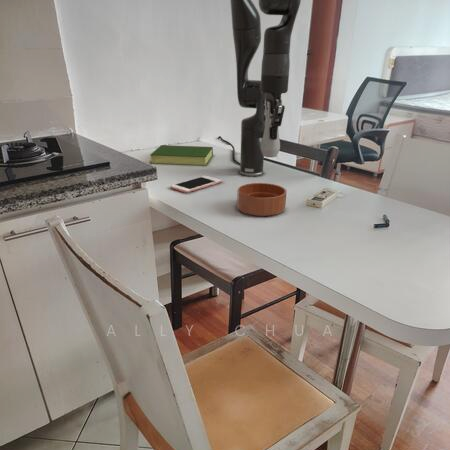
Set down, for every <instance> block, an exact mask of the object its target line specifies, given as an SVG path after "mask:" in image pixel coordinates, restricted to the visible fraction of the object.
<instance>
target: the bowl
mask: <svg viewBox="0 0 450 450" xmlns="http://www.w3.org/2000/svg"><path fill="white" fill-rule="evenodd" d="M286 201H287V189H286V188H285V187H283V186H281V185H278V184H274V183H267V182H253V183H247V184H243V185H241V186H239V187H237V193H236V207H237V209H238V210H239V211H240V212H242V213H245V214H248V215H252V216H259V217H266V216H275V215H279V214H281V213H283V212H284V211H285V210H286V204H287V203H286Z"/></svg>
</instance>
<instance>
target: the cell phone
mask: <svg viewBox="0 0 450 450" xmlns="http://www.w3.org/2000/svg"><path fill="white" fill-rule="evenodd" d="M220 183H222V179H219V178H217V177H213V176H208V175H202V176H198V177H195V178H191V179H188V180H185V181H181V182H177V183H174V184H171V185H170V189H173V190H176V191H179V192H181V193H185V194H188V193H191V192H195V191H198V190H201V189H204V188H207V187H210V186H214V185H216V184H220Z"/></svg>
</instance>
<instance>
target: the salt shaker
mask: <svg viewBox="0 0 450 450" xmlns="http://www.w3.org/2000/svg"><path fill="white" fill-rule="evenodd" d="M271 115H272V116H273V114H272V113H271ZM265 117H267V121H266V125H265V130H264V134H263V139H262V143H261V151H262V154H263V156H264V158H276V157H277V156H278V154H279V152H280V150H281V140H280V130H279V127H277V128H278V130H277V139H276V140H271V138H270V133H269V129H270V119H269V118H268V109H267V110H266V112H265ZM275 122H276V120H275ZM273 137H274V136H273Z"/></svg>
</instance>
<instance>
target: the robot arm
mask: <svg viewBox="0 0 450 450" xmlns="http://www.w3.org/2000/svg"><path fill="white" fill-rule="evenodd" d="M301 2H302V0H258V7H259V10H260V11H261V13H263V14H265V15H267V16H282V17H281V20H280V21H279V23H278V24H277V25H273V26H269V27H267V28H266V29H265V30H264V32H263V33H264V34H263V48H262V49H263V51H262V53H263V54H262V58H261V69H260V70H261V71H260V72H261V73H260V80H259V79H258V80H257V79H255V80H254V79H249V69H250V65H251V64H252V60H253V59H254V57H255V55H256V53H257V51H258V49H259V47H260V44H261V42H262V24H261V15H260V12H259V10H258V9H257V7H256V5H255V4H254V2H253V1H252V0H230V11H231V13H230V15H231V27H232V37H233V45H234V53H235V65H236V67H235V68H236V95H237V96H236V97H237V102H238V105H239V106H240V107H241V108H244V109H255V113H254V114H253V115H251V116H248V117H244V118H243V119H242V120H241V123H240V160H239V161H238V160H236V157H235V155H236V150H235V146H234V145H233V144H232V143H231V142H229V141H228V140H225V139H223V138H222V136H220V135H219V136H218V137H217V140H221V141H222V142H223V143H226V144H227V145H229V146H230V147H231V148H232V161H233V162H234V163H236V164H237V165H239V174H240V175H242V176H245V177H258V176H262V175H263V174H264V163H265V162H264V161H265V156H263V154H262V151H261V143H262V139H263V134H264V130H265V125H266V121H267V117H265V112H266V110H267V109H268V118H269V119H270V129H269V133H270V138H271V140H276V139H277V130H278V129H279V127H281V126H282V123H283V118H284V113H285V108H286V107H285V105H284V104H283V101H282V94H287V93H288V90H289V81H290V80H289V78H290V67H291V65H290V64H291V61H290V60H291V59H290V56H291V55H290V53H291V42H292V41H291V40H292V34H293V29H294V26H295V23H296V18H297V16H298V13H299V10H300V6H301ZM271 113H272V114H273V116H272V115H271ZM275 120H276V122H275ZM277 127H278V128H277ZM273 136H274V137H273Z"/></svg>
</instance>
